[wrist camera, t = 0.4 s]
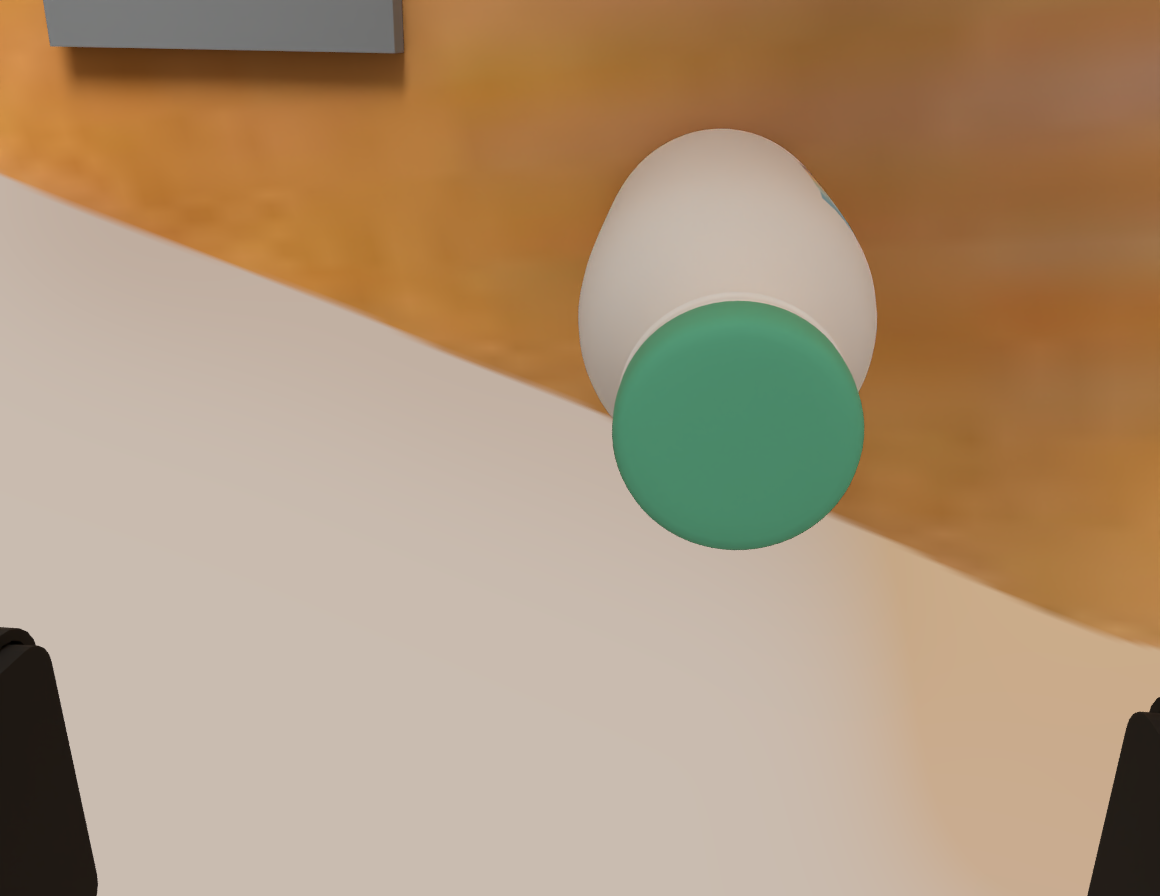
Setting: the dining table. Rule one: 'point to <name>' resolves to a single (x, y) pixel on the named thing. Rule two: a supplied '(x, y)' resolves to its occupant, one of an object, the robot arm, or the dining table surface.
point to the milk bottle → (729, 340)
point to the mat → (229, 24)
